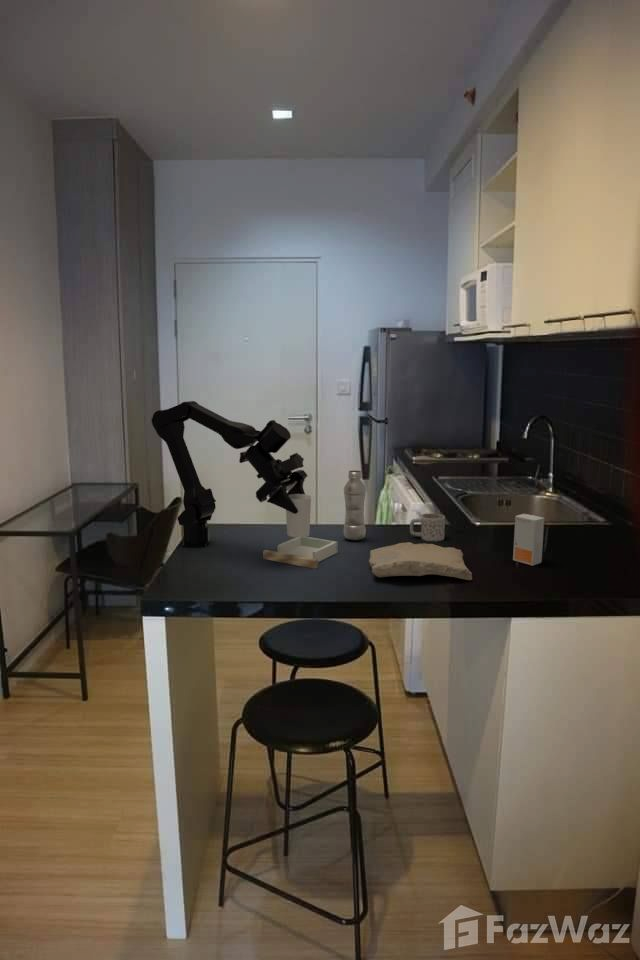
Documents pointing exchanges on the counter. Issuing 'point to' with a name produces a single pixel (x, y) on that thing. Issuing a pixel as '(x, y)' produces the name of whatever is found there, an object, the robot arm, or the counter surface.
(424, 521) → the mug
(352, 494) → the plastic bottle
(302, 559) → the oak rail
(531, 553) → the skincare box
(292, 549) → the tray
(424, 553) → the beige flat stone slab
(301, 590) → the counter surface
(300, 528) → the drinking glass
